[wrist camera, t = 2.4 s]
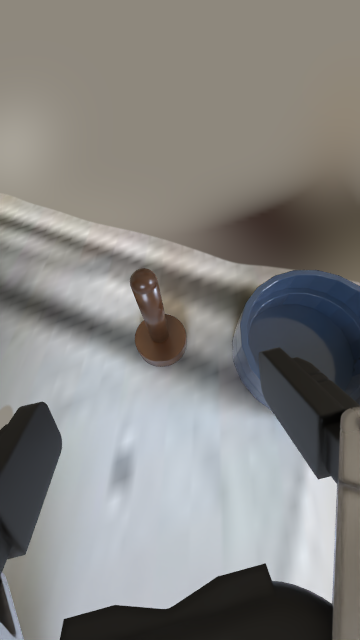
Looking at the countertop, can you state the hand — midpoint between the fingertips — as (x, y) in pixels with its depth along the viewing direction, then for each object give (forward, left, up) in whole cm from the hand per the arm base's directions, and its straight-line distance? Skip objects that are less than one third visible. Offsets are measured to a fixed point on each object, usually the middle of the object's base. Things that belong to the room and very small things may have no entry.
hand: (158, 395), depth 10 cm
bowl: (+12, +7, -17) cm, 22 cm away
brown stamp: (-2, +8, -17) cm, 19 cm away
